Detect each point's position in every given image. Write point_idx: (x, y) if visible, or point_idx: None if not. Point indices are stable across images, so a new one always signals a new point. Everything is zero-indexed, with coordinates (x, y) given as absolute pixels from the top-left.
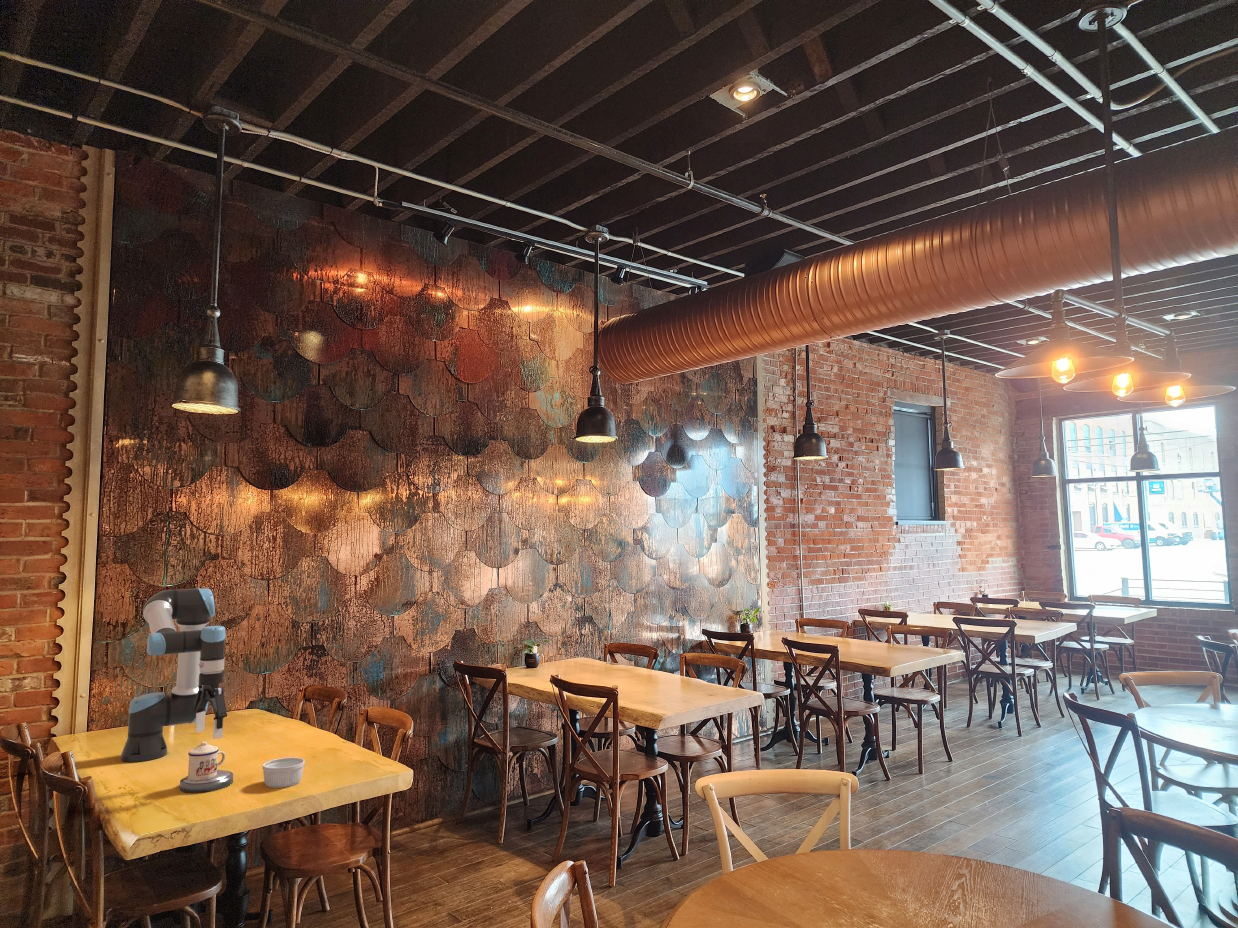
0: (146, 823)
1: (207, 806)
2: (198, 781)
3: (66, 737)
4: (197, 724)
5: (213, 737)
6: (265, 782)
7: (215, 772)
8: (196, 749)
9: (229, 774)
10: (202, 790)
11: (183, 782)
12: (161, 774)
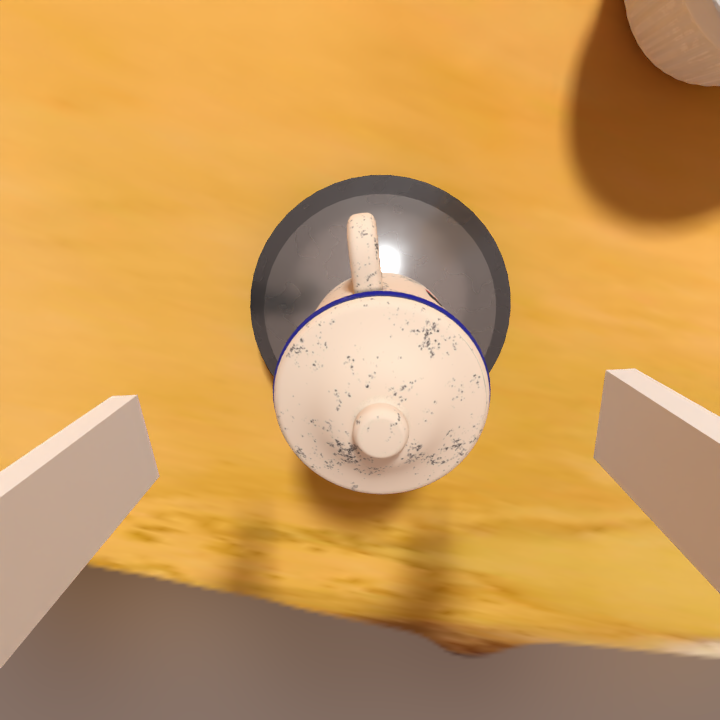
0: (653, 598)
1: None
2: None
3: None
4: (104, 531)
5: (608, 465)
6: (713, 85)
7: (436, 298)
8: (397, 469)
9: (450, 216)
10: None
11: None
12: (39, 384)
